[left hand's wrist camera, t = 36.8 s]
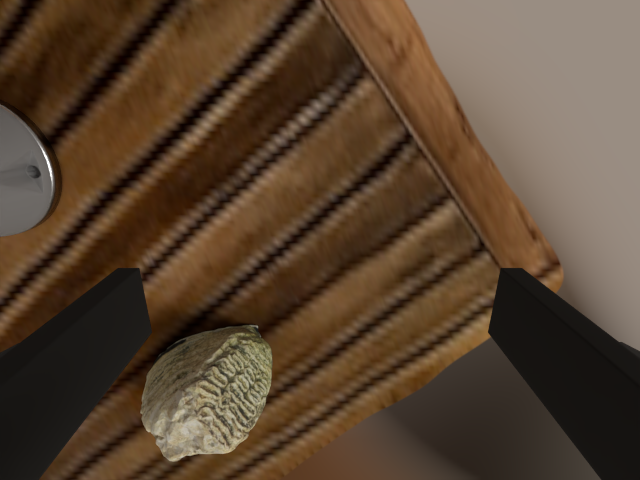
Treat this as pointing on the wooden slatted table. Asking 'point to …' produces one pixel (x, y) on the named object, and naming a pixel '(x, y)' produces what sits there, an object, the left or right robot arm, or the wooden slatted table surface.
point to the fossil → (207, 391)
